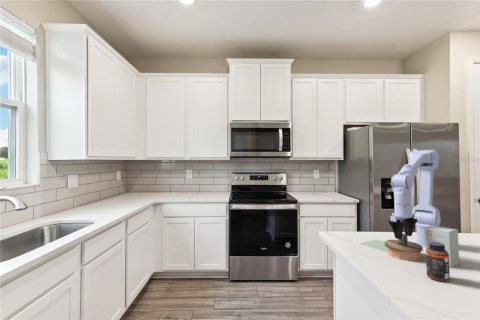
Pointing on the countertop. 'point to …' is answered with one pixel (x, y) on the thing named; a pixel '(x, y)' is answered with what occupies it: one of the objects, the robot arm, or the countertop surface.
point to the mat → (376, 245)
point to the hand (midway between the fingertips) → (403, 237)
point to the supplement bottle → (437, 262)
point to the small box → (444, 241)
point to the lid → (403, 245)
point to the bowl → (405, 255)
